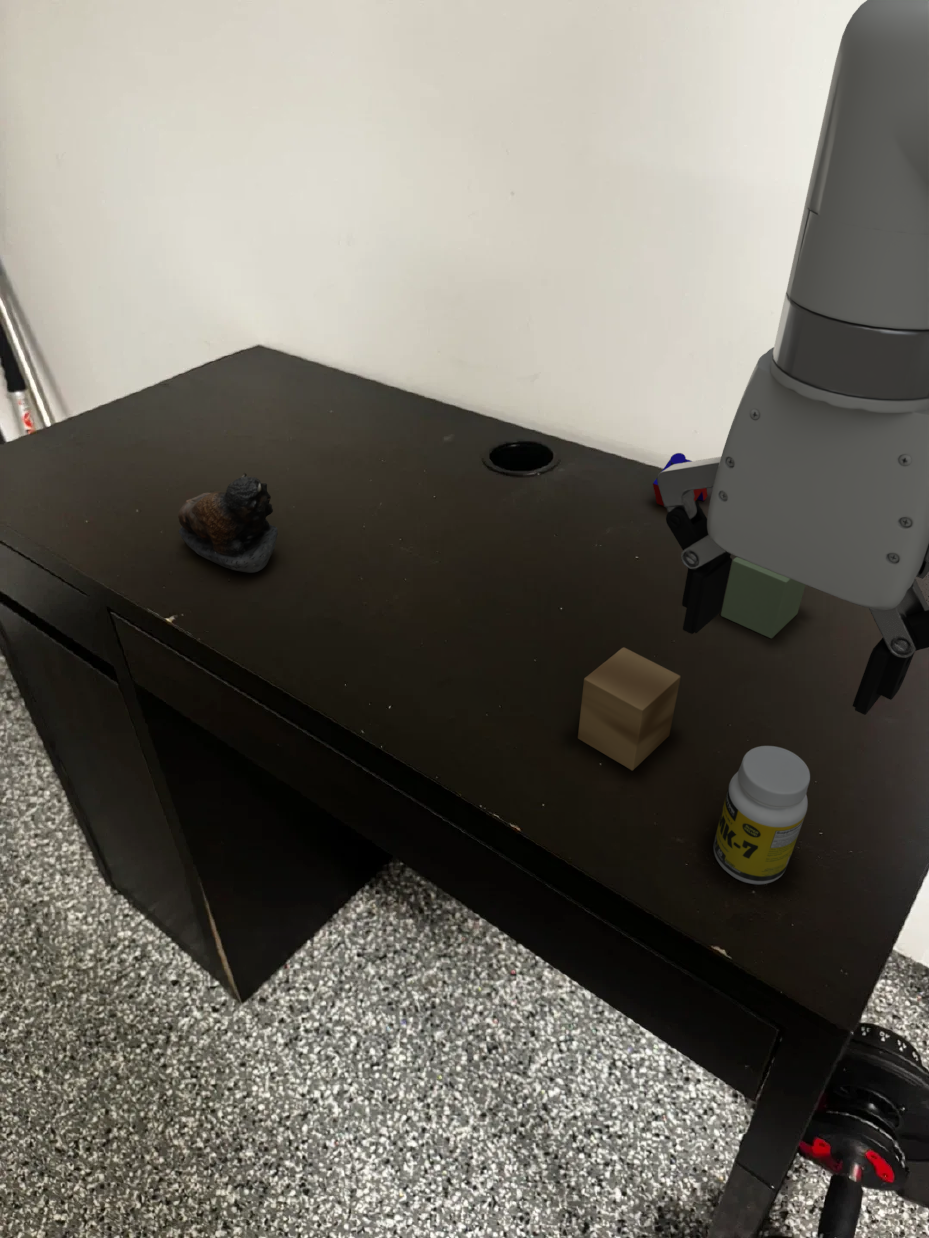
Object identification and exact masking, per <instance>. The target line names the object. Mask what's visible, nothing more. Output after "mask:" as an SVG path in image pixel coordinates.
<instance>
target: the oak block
mask: <svg viewBox="0 0 929 1238" xmlns="http://www.w3.org/2000/svg"><path fill="white" fill-rule="evenodd" d="M680 681H681V675H680V674H678V673H676V672H674V671H671V670H670V669H667V668H665V667H664V666H661V665H660V664H658V663H656V662H654V661H652V660H650V659H649V658H646V657H644V656H643V655H640V654H639V653H636V652H634V651H632V650H630V649H629V648H626V647H625V646H624V647H621V648H620V649H619V650H618V651H616V652H615V653H614V654H613V655H612V656H611V657H609V658H608V659H607V660H606V661H604V662H602V664H600V665H599V666H598V667H597V668H596V669H594V670H593V671H592V672H590V673H589V674H587V676H585V677H584V679H583V687H582V694H581V705H580V712H579V713H580V714H579V722H578V723H579V724H578V731H577V732H578V733H577V739H578V740H580V741H582V743H585V744H586V745H588V746H590V747H591V748H593V749H595V750H596V751H598V752H600V753H601V754H603V755H605V756H607V757H608V758H610V759H611V760H613V761H615V762H616V763H618V764H620V765H622V766H623V767H625V768H626V769H628V770H630V771H634V770H635V769H636V768H637V767H639V765H640V764H641V763H643V761H645V759H647V758H648V757H649V756H650V755H651V754H652V753H653V752H654V751H655V750H656V749H657V748H659V746H660V745H661V744H663V742H664V741H666V739H667V738H668V737H670V734H671V729H672V724H673V718H674V713H675V712H674V711H675V707H676V702H677V697H678V692H679V686H680Z"/></svg>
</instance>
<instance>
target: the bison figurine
mask: <svg viewBox="0 0 929 1238" xmlns="http://www.w3.org/2000/svg"><path fill="white" fill-rule="evenodd" d="M242 474H243V475H242V476H241V477H238V478H236V479H234V480H233V481H232V482H230V483H229V485H227V487H226V491H225V492H224V491H219V490H217V491H214V492H202V493H201V494H199V495H197V496H194V497H192V498H189V499H186V500H185V501H184V503H183V505H182V506H181V508H180V509H179V511H178V514H177V517H178V522H179V524H180V525H181V527H180V528H179V530H178V533H179V535H180V537H181V539H182V540H183V541H184V542H185V544H186V545H187V546H188V547H189V548H190V549H191V550H192V551H194V552H195V553H196V554H197V555H198V556H201V557H202V558H204V559H206V560H208V561H210V562H211V563H212V562H213V563H215V564H216V565H218V566H221V567H223V568H226V569H230V570H232V571H236V572H241V573H248V574H252V573H253V574H254V573H258V572H259V571H262V570H263V569H264V568H265V567H266V566H267V564H268V563H269V560H270V558H271V556H272V554H273V553H274V551H275V548H276V545H277V539H278V527H277V526H275V525H272V524H270V523H269V521H268V519H267V517H269V516H270V515H271V514H273V512H274V509H273V504H272V503H270V502H271V498H272V496H271V494H270V493H269V491H268V483H266V482H261V480H260V479H259V478H257V477H255V476H248V475H247V473H246V472H243V473H242Z"/></svg>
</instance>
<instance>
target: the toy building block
mask: <svg viewBox="0 0 929 1238" xmlns="http://www.w3.org/2000/svg"><path fill="white" fill-rule="evenodd" d="M691 461H692V460H691V459H687V457H686V455H685V454H684V453H682V452H676V453H674V454H672V456H670V459H669V460H668V461H667V463H665V464H666V465H664V467H663V469H662V470H661V471H660V473H661V472H662V471H664V470H665V469H667V468H668V467H670V466H671V465H674V464H679V463H685V462H691ZM652 487H653V491H654V496H655V501H656V504H657V505H659V506H662V507H664V504H663V500H662V497H661V494H660V490H659V487H658V483H657V477H656V478H655V479H654V480H653V482H652ZM694 495H695V497H694V501H695V502H697V500H699V501H702V502H705V500H706V499H707V497H708V488H703V489H696V490H694Z"/></svg>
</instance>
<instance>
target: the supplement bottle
mask: <svg viewBox="0 0 929 1238" xmlns="http://www.w3.org/2000/svg"><path fill="white" fill-rule="evenodd" d="M810 781H811V772H810V769H809V767H808V766H807V764H806V762H805V761H804V760H803V759H802V758H801V757H799V755H797V754H796V753H795V752H792V751H790V750H788V749H786V748H783V747H780V746H776V745H775V746H774V745H761V746H756V747H754V748H751V749H750V750H749V751H747V752H746V753H745V754H744V756H743V758H742V761H741V764H740V765H739V768H738V771H737V772H735V773H734V775H732V778H731V779H730V781H729V783H728V787H727V791H726V794H725V797H724V802H723V806H722V810H721V813H720V817H719V821H718V824H717V829H716V832H715V835H714V841H713V854H714V857H715V860H716V861H717V862H718V864H719V865H720V867H721V868H722V869H723V870H724V871H725V872H726V873H727V874H728V875H730V876H731V877H733V878H735V879H736V880H738V881H740V882H743V883H746V884H750V885H765V884H770V883H773V882H775V881H777V880H779V878H781V877H782V876H783V874H785V872H786V870H787V867H788V865H789V862H790V859H791V857H792V854H793V851H794V848H795V845H796V842H797V839H798V837H799V834H800V831H801V828H802V825H803V822H804V821H805V817H806V814H807V812H808V807H809V803H808V802H809V801H808V796H807V792H808V788H809V785H810Z"/></svg>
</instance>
